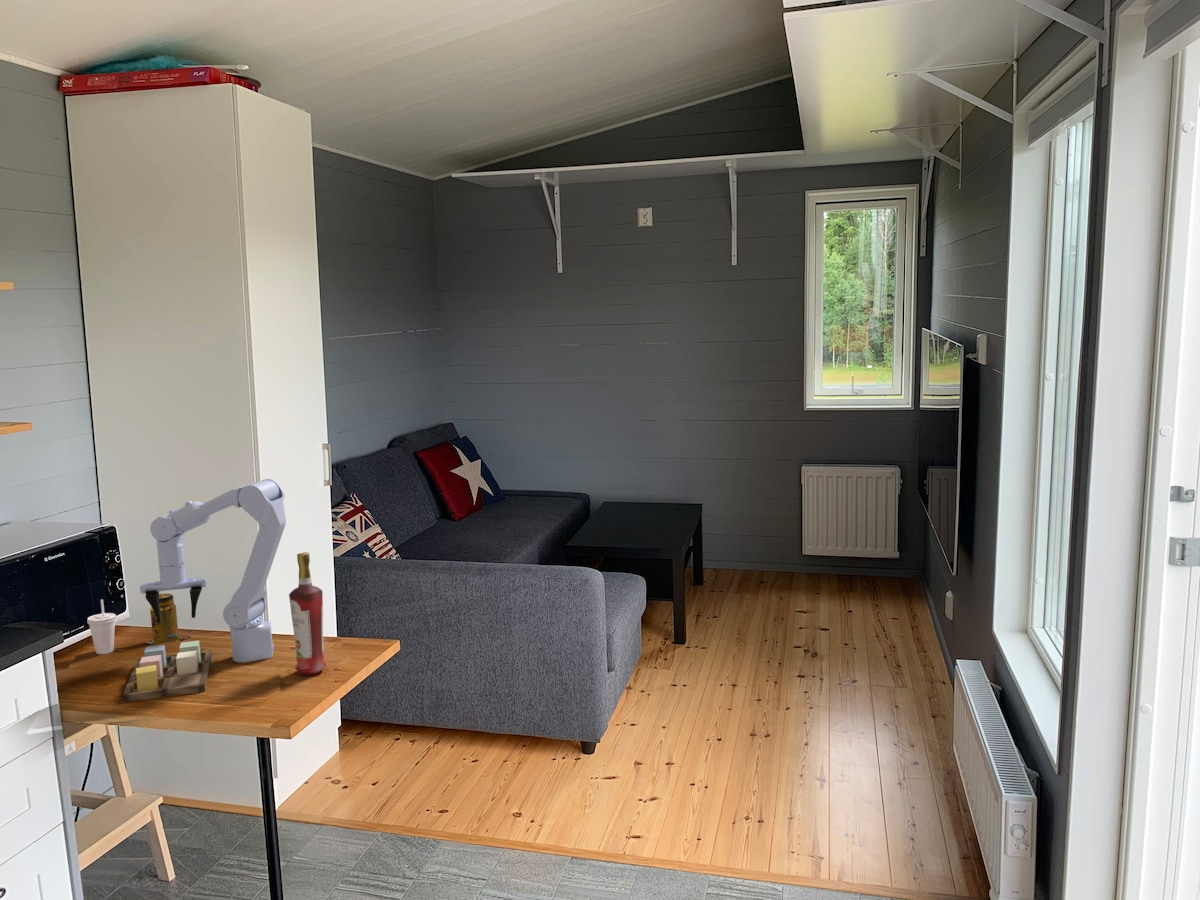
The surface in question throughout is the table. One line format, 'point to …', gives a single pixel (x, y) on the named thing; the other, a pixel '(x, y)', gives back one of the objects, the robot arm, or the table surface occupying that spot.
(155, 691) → the block tray
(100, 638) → the smoothie
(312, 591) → the liquor
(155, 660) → the rose block
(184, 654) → the cream block
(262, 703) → the table surface
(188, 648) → the sage block
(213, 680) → the table surface
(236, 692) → the table surface
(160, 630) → the condiment
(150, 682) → the mustard block
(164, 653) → the blue block
